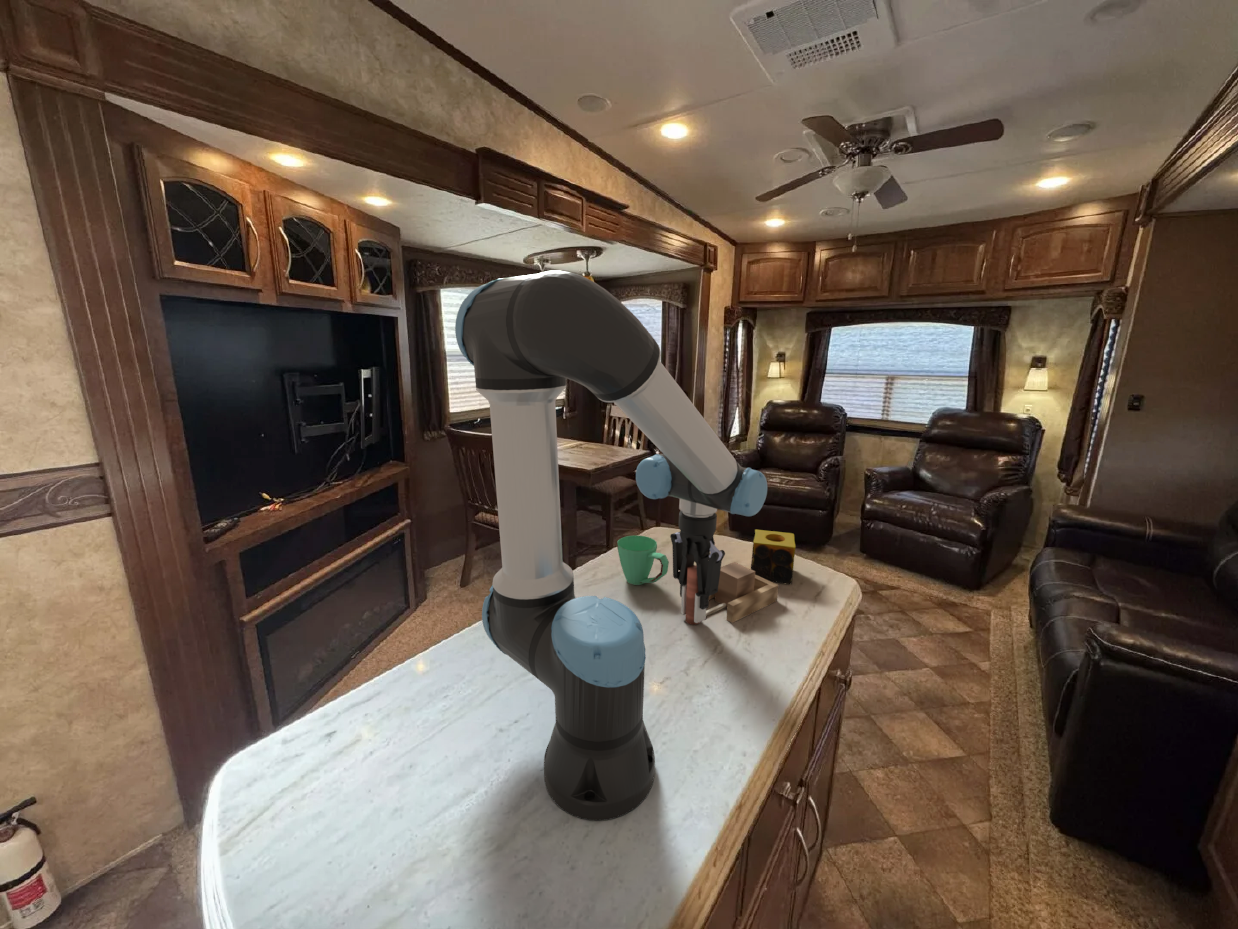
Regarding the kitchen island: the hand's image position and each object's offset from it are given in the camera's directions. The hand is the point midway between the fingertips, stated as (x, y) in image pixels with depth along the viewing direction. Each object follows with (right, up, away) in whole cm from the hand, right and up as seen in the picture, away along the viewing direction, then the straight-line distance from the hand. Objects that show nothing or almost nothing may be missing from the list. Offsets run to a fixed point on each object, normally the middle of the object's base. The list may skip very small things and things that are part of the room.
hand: (693, 616), depth 103 cm
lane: (+10, +1, +8) cm, 13 cm away
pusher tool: (+6, 0, +4) cm, 7 cm away
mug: (-10, +3, +16) cm, 19 cm away
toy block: (+23, +4, +22) cm, 32 cm away
